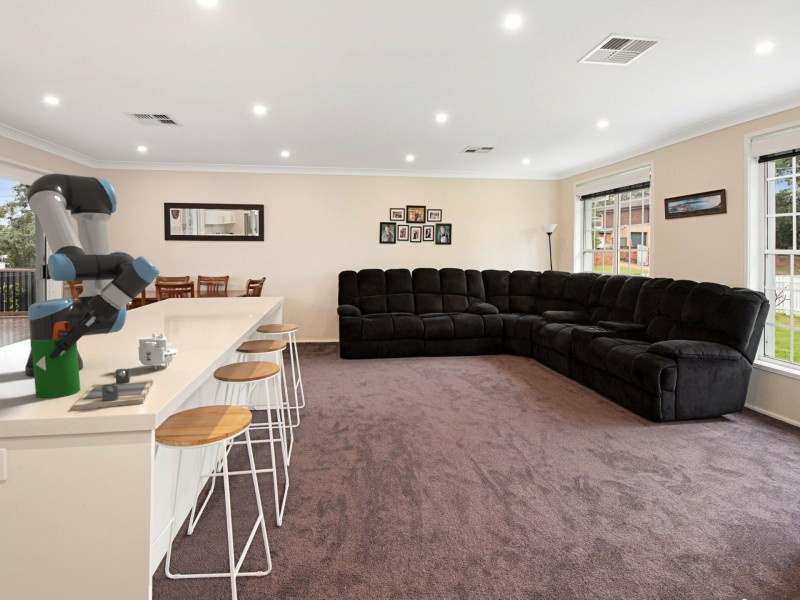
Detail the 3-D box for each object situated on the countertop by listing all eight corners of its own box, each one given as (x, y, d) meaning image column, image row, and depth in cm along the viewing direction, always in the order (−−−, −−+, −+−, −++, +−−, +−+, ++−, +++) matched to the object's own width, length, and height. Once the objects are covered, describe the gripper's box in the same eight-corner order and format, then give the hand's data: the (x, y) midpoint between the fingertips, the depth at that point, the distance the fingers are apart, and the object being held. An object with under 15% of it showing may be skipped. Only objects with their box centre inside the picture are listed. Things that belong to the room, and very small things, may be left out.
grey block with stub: (117, 382, 134) (116, 369, 133) (130, 381, 135) (129, 368, 134) (115, 385, 131) (114, 371, 130) (128, 383, 132) (127, 371, 132)
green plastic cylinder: (55, 387, 132) (50, 318, 130) (88, 387, 132) (84, 318, 130) (30, 398, 122) (24, 324, 120) (65, 398, 122) (60, 324, 120)
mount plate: (94, 387, 133) (94, 382, 132) (153, 382, 138) (153, 377, 138) (73, 410, 113) (73, 404, 113) (143, 403, 119) (142, 398, 119)
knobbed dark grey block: (105, 397, 119) (104, 383, 119) (119, 396, 120) (118, 382, 120) (102, 401, 116) (101, 386, 116) (117, 400, 117) (116, 385, 117)
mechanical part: (184, 363, 162) (183, 330, 161) (164, 372, 150) (162, 336, 149) (154, 362, 163) (153, 329, 162) (131, 371, 151) (130, 335, 150)
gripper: (121, 314, 124) (51, 381, 117) (120, 307, 142) (59, 364, 135) (97, 295, 121) (23, 363, 114) (99, 290, 138) (35, 348, 131)
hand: (42, 363), depth 124 cm, fingers open, 8 cm apart
